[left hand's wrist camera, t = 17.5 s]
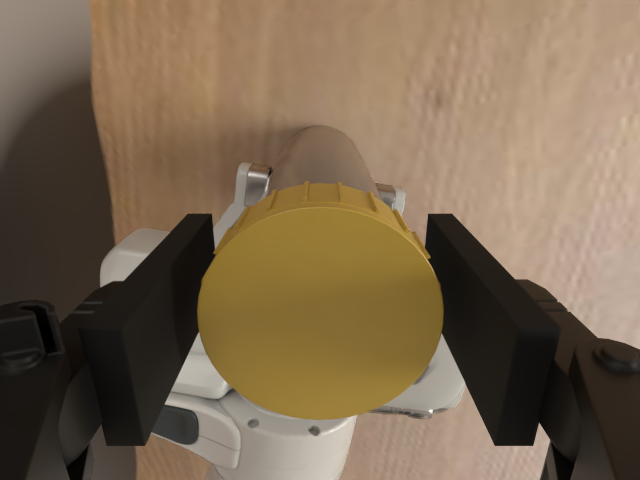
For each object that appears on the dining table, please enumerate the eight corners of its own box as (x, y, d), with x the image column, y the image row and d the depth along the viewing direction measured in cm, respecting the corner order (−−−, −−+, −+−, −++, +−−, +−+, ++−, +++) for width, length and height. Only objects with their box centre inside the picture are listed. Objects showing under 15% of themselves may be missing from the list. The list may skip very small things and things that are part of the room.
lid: (183, 212, 11) (152, 242, 9) (404, 153, 11) (424, 172, 9) (253, 385, 13) (241, 442, 11) (440, 344, 13) (464, 395, 11)
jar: (374, 143, 26) (463, 254, 10) (342, 218, 28) (375, 416, 12) (295, 112, 25) (251, 176, 9) (268, 191, 27) (191, 361, 11)
